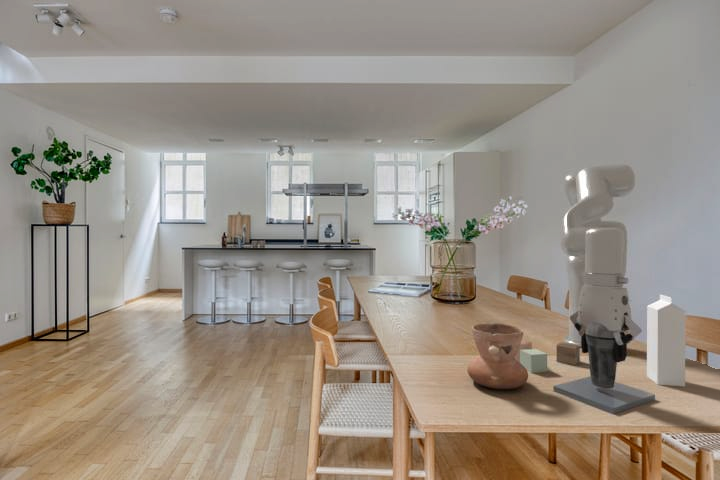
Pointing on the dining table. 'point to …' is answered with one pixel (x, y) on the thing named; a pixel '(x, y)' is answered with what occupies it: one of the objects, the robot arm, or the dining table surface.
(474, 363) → the ceramic jug
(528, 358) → the sage block
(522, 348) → the peach rounded capsule
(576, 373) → the dining table surface
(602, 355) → the beverage cup
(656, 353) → the milk
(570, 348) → the walnut block
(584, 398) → the slate board
